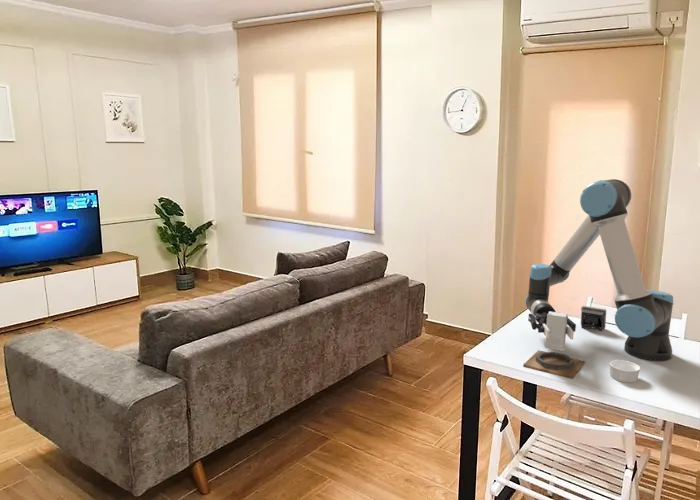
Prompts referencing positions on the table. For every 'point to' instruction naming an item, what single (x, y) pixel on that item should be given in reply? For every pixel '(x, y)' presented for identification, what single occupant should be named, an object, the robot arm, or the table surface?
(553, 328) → the skincare box
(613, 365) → the ramekin
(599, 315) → the electrical switch
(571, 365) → the wooden board with ring
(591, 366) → the table surface
